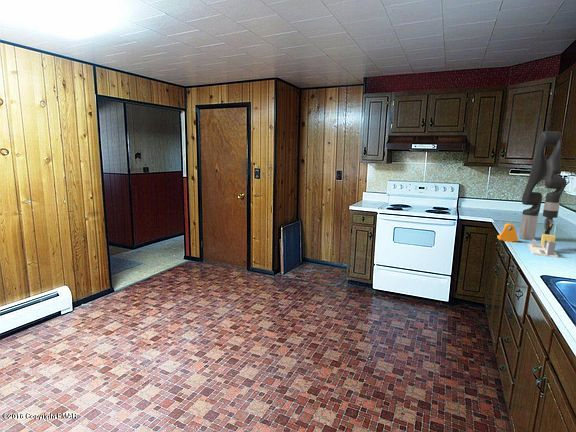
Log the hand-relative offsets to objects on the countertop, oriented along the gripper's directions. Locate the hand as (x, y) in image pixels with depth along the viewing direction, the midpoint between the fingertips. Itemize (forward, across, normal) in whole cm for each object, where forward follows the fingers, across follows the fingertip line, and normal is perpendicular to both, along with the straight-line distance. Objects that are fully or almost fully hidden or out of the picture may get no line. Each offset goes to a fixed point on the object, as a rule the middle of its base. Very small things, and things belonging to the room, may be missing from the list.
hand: (546, 236), depth 218 cm
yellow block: (+4, -6, 0) cm, 7 cm away
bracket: (+8, +12, +20) cm, 25 cm away
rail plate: (+8, -7, +3) cm, 11 cm away
